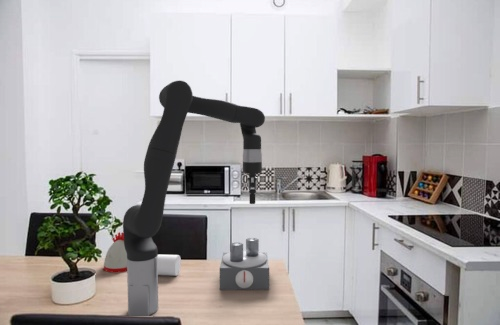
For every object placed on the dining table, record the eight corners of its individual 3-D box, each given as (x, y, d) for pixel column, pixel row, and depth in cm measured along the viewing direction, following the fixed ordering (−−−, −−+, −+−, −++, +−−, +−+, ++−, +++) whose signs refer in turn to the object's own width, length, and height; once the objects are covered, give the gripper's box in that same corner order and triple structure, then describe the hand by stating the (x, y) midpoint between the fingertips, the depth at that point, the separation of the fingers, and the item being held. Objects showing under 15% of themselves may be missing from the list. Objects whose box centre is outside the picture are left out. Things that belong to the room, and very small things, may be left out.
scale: (269, 290, 118) (269, 266, 117) (219, 290, 118) (219, 266, 117) (266, 271, 135) (266, 250, 135) (223, 271, 135) (223, 250, 135)
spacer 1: (243, 262, 121) (243, 246, 121) (229, 262, 121) (229, 246, 121) (243, 257, 126) (243, 242, 126) (230, 257, 126) (230, 242, 126)
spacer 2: (258, 256, 127) (258, 241, 127) (246, 256, 127) (245, 241, 127) (258, 252, 132) (258, 237, 132) (246, 252, 132) (246, 238, 132)
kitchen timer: (126, 273, 134) (125, 237, 133) (96, 271, 136) (96, 235, 136) (144, 262, 147) (143, 229, 147) (116, 259, 150) (116, 227, 149)
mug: (175, 278, 128) (174, 258, 128) (150, 277, 129) (150, 258, 129) (184, 267, 140) (183, 249, 140) (161, 266, 141) (161, 248, 141)
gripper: (262, 161, 121) (262, 205, 121) (261, 160, 135) (261, 199, 136) (242, 161, 121) (242, 205, 121) (243, 160, 135) (243, 199, 136)
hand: (252, 202), depth 128 cm, fingers open, 8 cm apart
